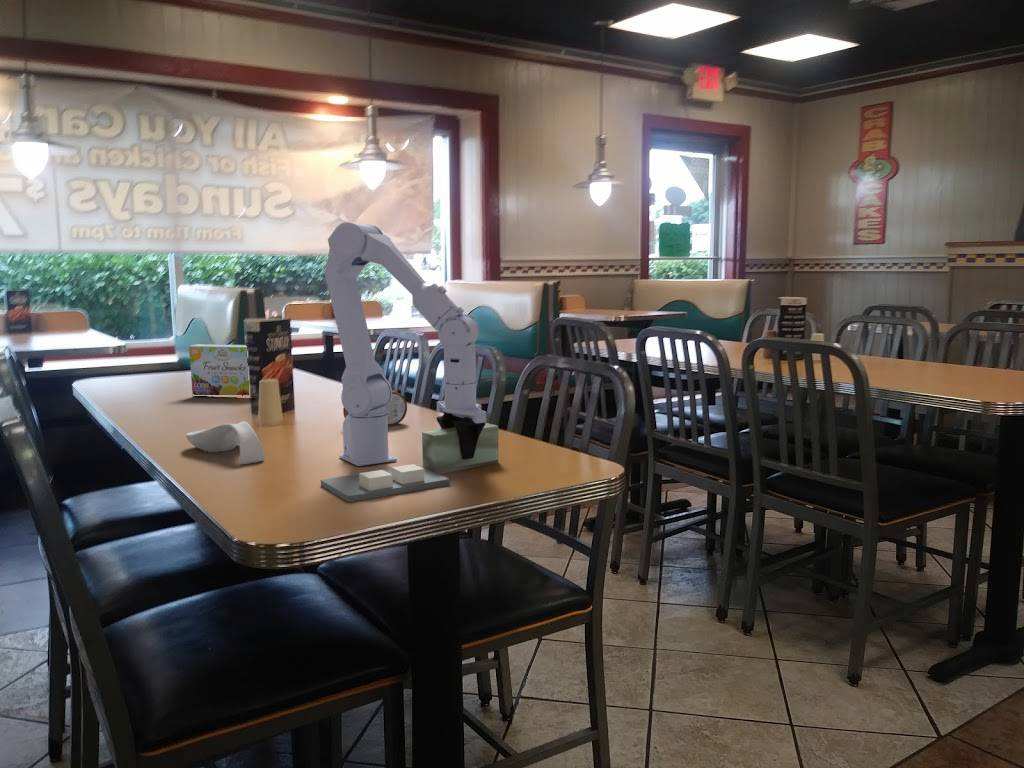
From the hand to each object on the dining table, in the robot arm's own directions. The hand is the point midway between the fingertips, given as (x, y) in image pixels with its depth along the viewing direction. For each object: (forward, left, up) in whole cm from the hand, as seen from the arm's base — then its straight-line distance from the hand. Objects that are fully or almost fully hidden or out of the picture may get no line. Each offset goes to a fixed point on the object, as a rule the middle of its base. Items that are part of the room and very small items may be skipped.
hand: (461, 456), depth 146 cm
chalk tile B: (+6, -14, -1) cm, 15 cm away
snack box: (-110, -13, -2) cm, 111 cm away
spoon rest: (-36, -32, -2) cm, 49 cm away
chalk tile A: (+7, -20, -1) cm, 21 cm away
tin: (-44, +3, -2) cm, 44 cm away
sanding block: (0, 0, -2) cm, 2 cm away
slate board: (+4, -17, -2) cm, 18 cm away
